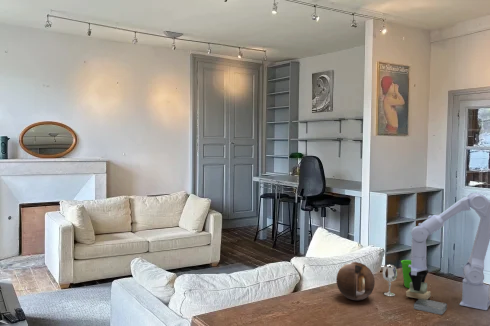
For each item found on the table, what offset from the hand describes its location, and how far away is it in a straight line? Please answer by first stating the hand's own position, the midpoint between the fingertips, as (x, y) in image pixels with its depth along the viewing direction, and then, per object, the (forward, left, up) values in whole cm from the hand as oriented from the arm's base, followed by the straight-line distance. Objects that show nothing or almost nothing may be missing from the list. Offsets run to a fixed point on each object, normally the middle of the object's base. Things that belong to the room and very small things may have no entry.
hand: (418, 288), depth 175 cm
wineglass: (+11, +2, -4) cm, 12 cm away
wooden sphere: (+20, +17, -4) cm, 27 cm away
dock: (-7, +9, -4) cm, 12 cm away
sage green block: (0, 0, -3) cm, 3 cm away
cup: (+7, -14, -4) cm, 16 cm away
